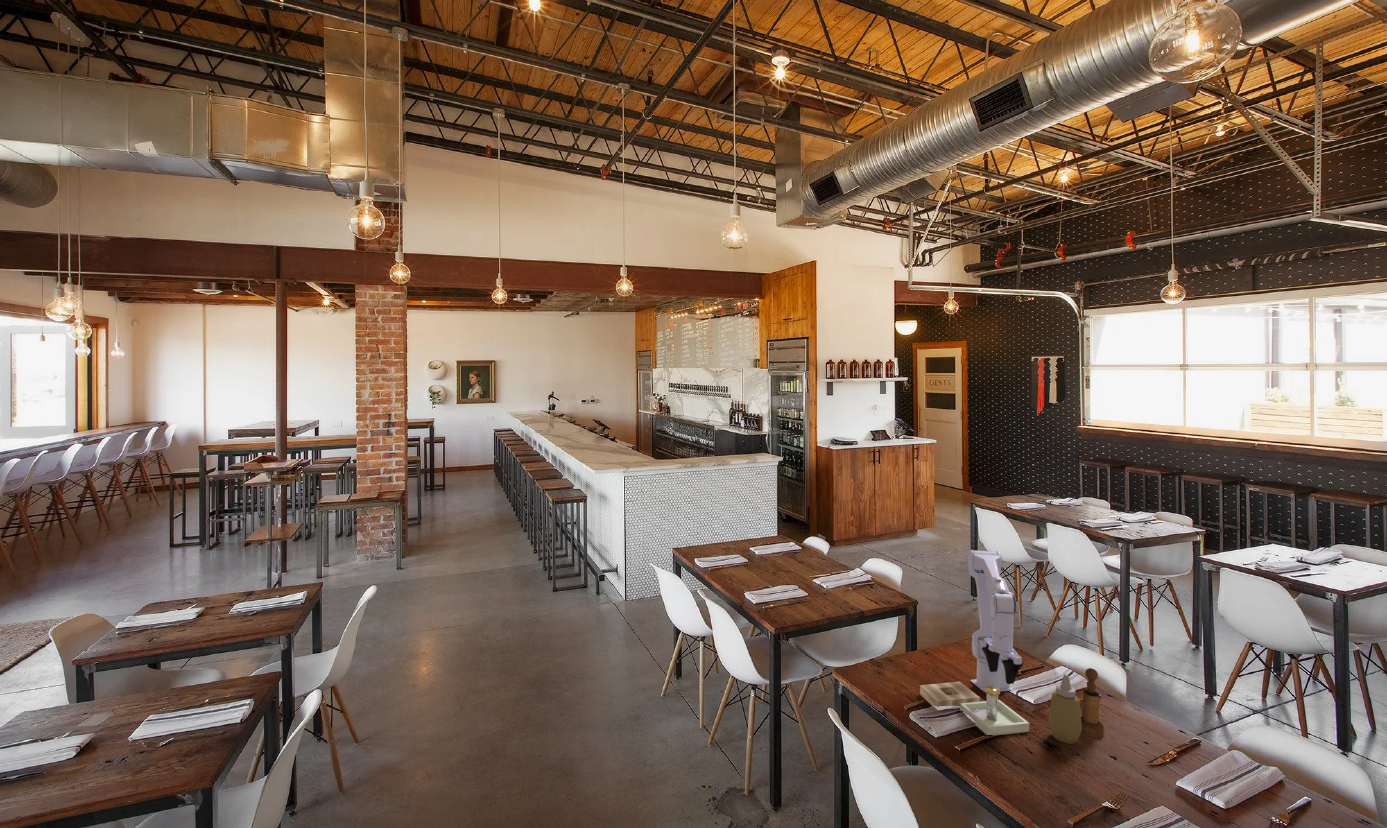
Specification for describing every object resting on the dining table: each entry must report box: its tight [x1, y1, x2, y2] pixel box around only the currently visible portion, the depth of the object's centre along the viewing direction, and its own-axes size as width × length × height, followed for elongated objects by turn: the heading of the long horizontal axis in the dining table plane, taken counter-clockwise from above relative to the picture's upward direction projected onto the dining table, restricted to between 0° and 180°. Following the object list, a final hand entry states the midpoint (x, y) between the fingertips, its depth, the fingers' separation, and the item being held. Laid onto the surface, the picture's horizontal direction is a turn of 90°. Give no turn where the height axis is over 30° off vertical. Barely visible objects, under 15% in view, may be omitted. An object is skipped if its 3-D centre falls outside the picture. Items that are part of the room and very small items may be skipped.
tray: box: [959, 699, 1030, 736], centre depth 177 cm, size 13×13×2 cm
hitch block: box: [919, 681, 981, 707], centre depth 189 cm, size 14×10×3 cm
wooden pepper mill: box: [1081, 667, 1105, 738], centre depth 172 cm, size 7×6×18 cm
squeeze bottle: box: [1047, 674, 1082, 745], centre depth 169 cm, size 8×8×18 cm
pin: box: [984, 686, 1001, 721], centre depth 178 cm, size 4×4×9 cm
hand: (1001, 677), depth 183 cm, fingers open, 7 cm apart
